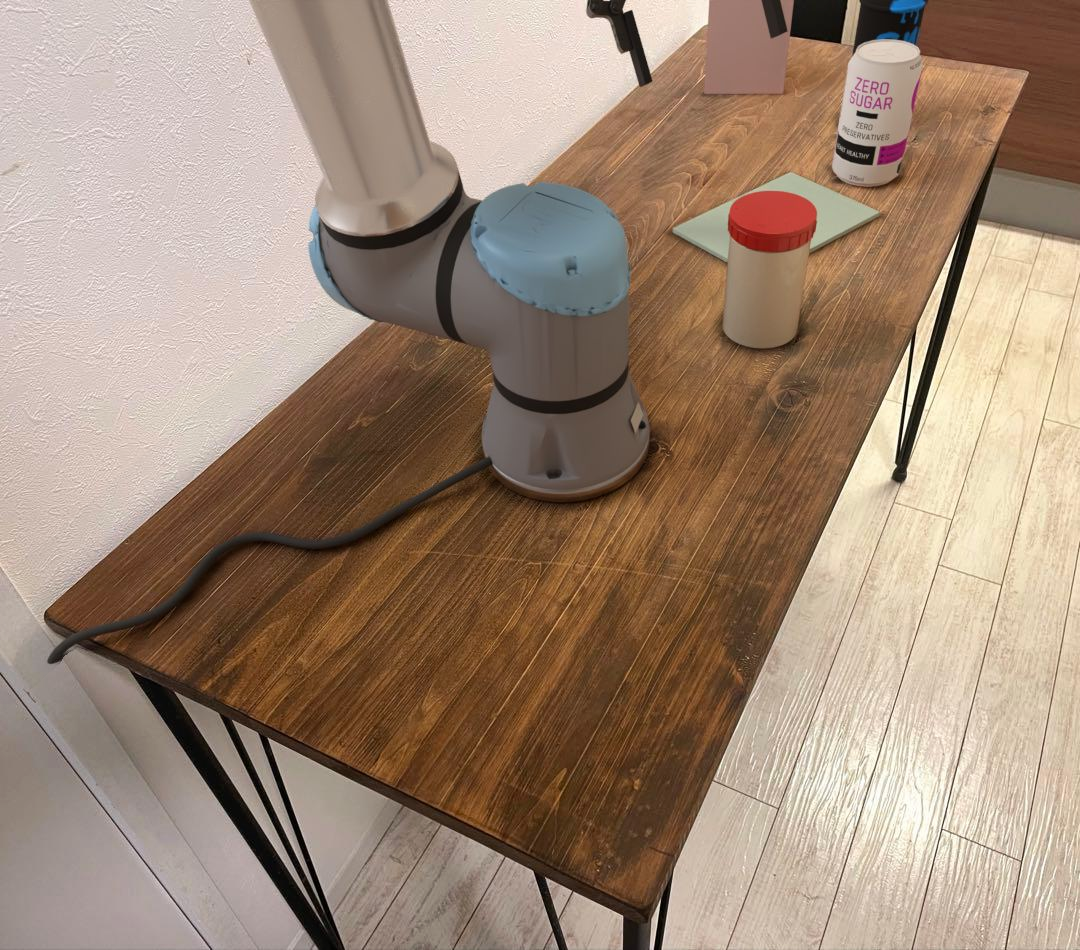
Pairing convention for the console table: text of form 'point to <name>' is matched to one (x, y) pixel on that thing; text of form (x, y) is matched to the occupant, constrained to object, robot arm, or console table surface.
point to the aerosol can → (889, 20)
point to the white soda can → (876, 112)
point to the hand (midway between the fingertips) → (712, 60)
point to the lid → (772, 221)
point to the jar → (763, 295)
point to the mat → (832, 207)
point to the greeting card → (745, 49)
